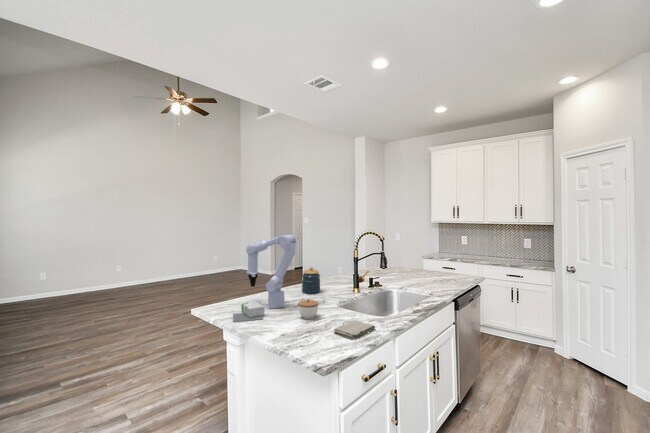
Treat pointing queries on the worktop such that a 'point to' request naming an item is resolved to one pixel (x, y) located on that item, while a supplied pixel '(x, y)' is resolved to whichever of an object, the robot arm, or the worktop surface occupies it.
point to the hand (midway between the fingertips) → (252, 286)
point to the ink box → (252, 309)
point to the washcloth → (354, 330)
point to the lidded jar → (308, 308)
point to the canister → (311, 281)
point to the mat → (245, 317)
